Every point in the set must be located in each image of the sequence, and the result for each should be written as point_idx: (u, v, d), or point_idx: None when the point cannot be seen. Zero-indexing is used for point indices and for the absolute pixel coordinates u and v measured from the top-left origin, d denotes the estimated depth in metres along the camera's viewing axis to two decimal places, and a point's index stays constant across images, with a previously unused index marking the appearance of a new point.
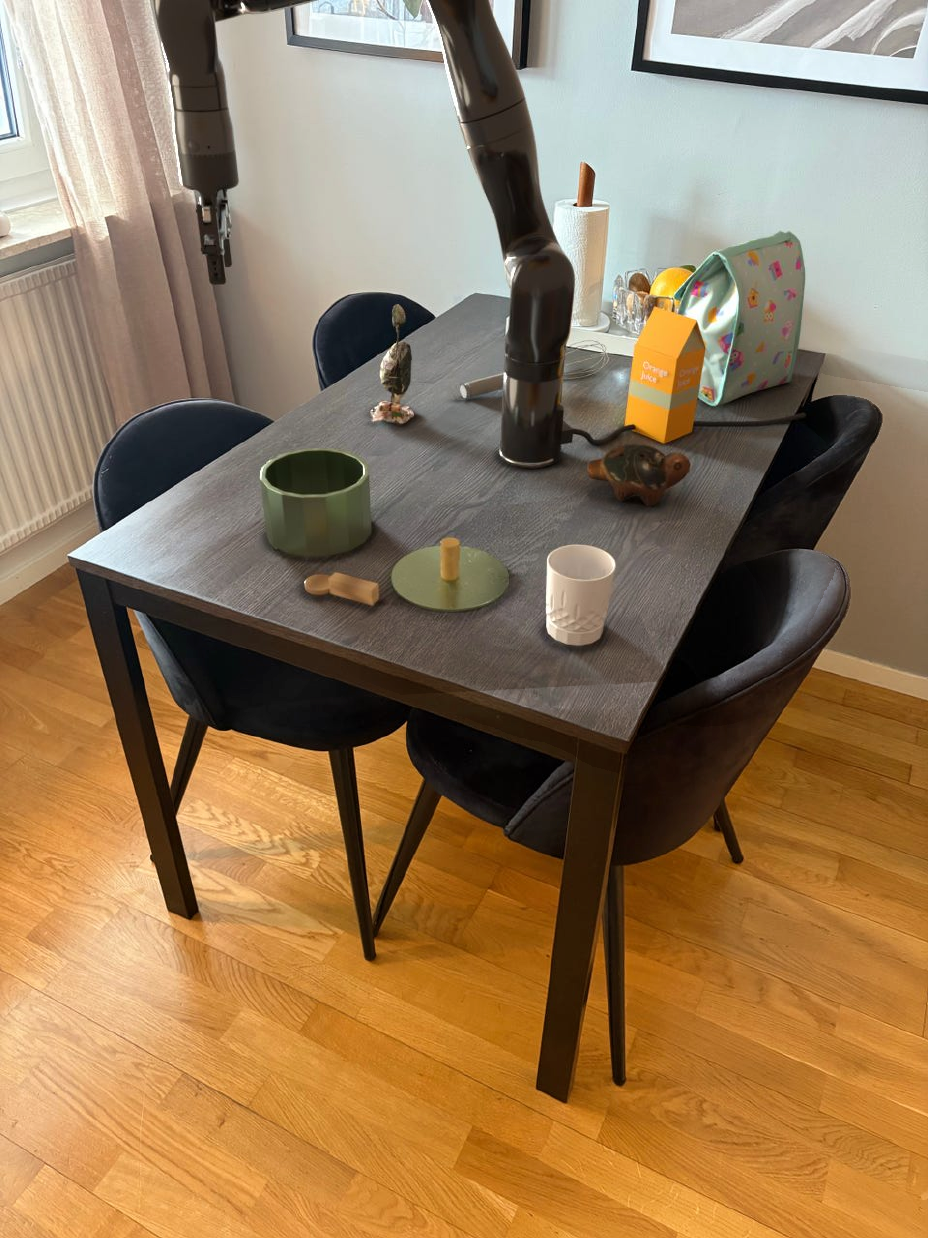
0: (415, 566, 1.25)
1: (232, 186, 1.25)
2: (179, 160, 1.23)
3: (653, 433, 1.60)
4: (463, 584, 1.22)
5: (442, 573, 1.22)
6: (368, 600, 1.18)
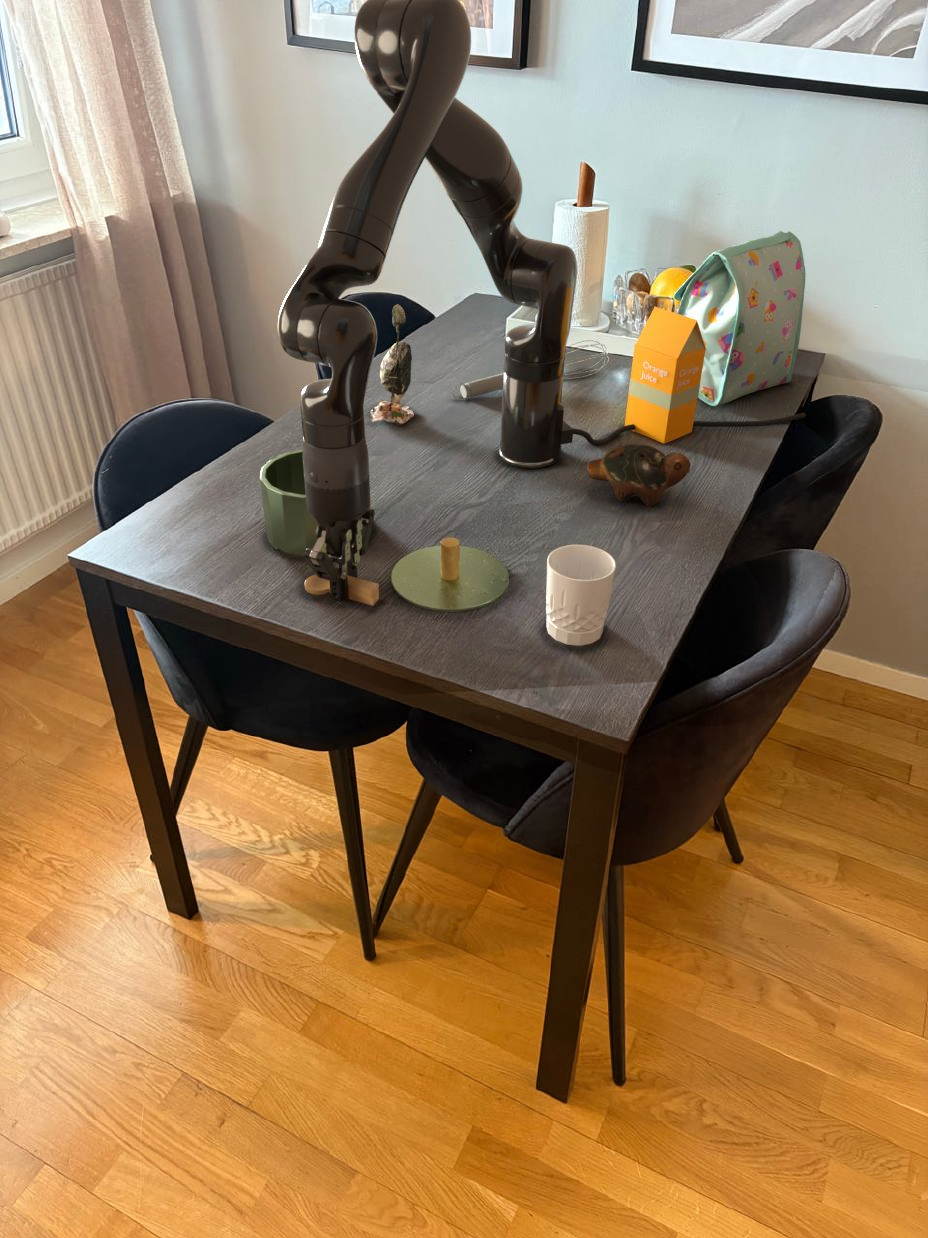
0: (415, 566, 1.25)
1: (353, 518, 1.11)
2: None
3: (653, 433, 1.60)
4: (463, 584, 1.22)
5: (442, 573, 1.22)
6: (368, 600, 1.18)
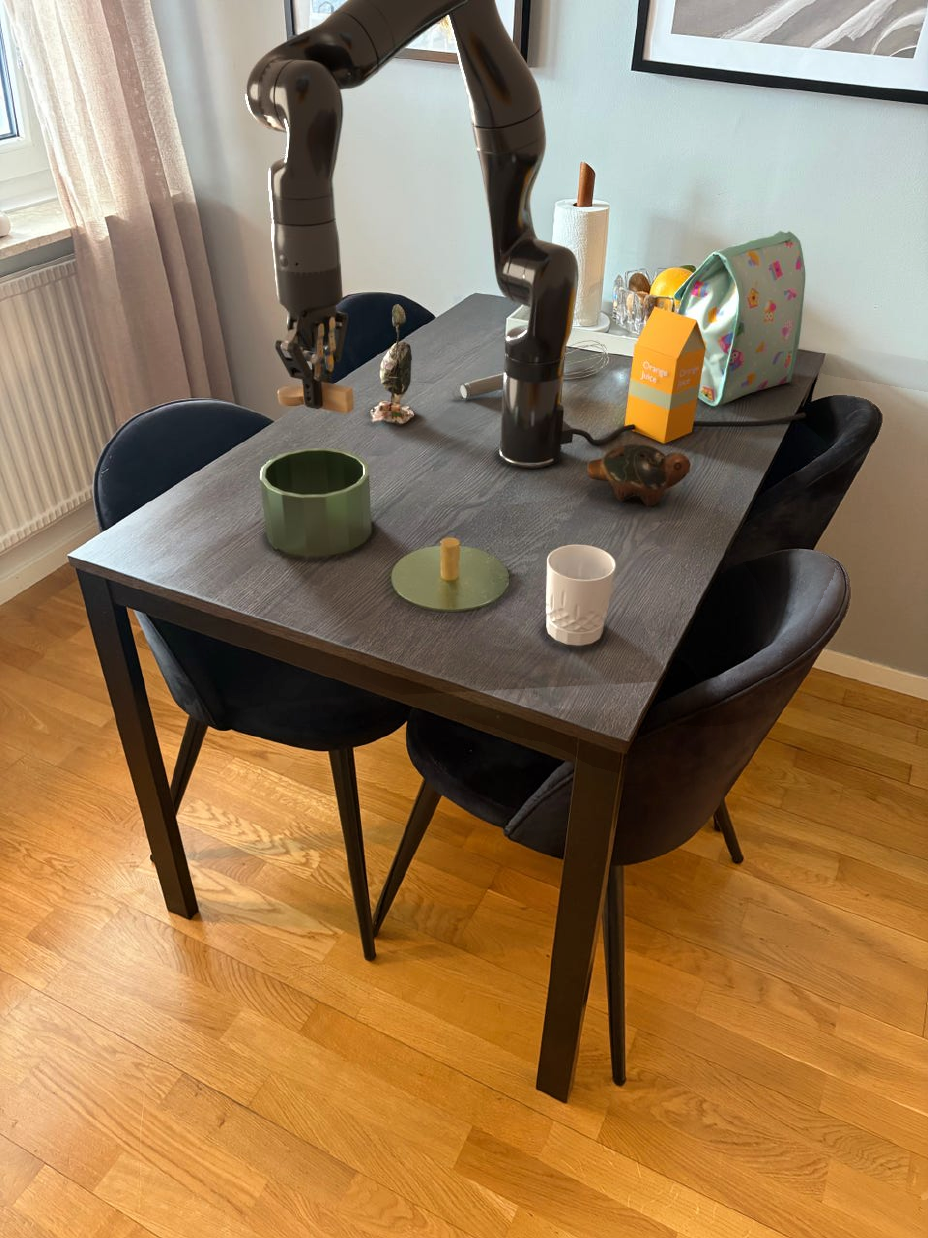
0: (415, 566, 1.25)
1: (325, 307, 1.09)
2: None
3: (653, 433, 1.60)
4: (463, 584, 1.22)
5: (442, 573, 1.22)
6: (342, 404, 1.16)
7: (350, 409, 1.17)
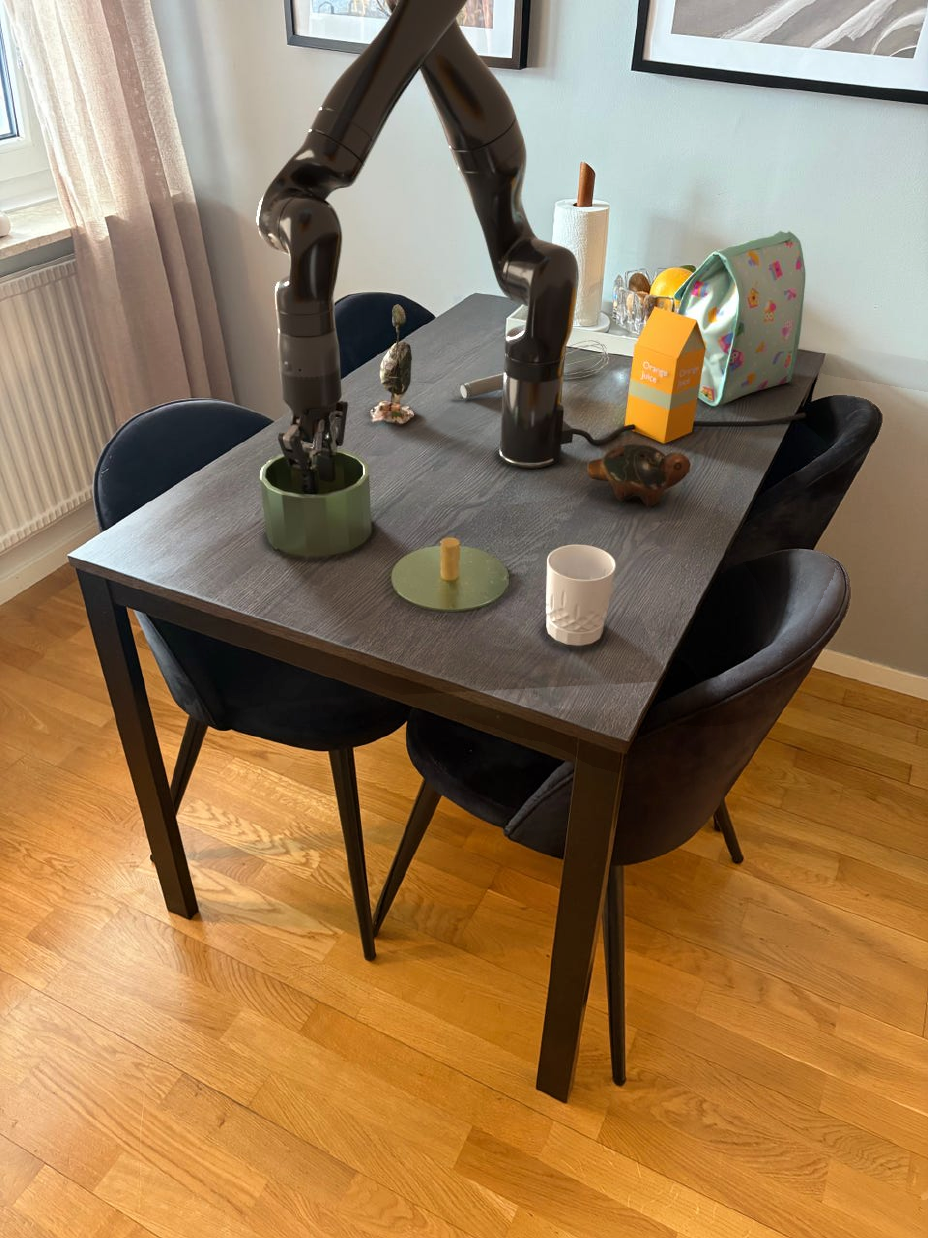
0: (415, 566, 1.25)
1: (325, 406, 1.19)
2: (280, 374, 1.20)
3: (653, 433, 1.60)
4: (463, 584, 1.22)
5: (442, 573, 1.22)
6: None
7: None
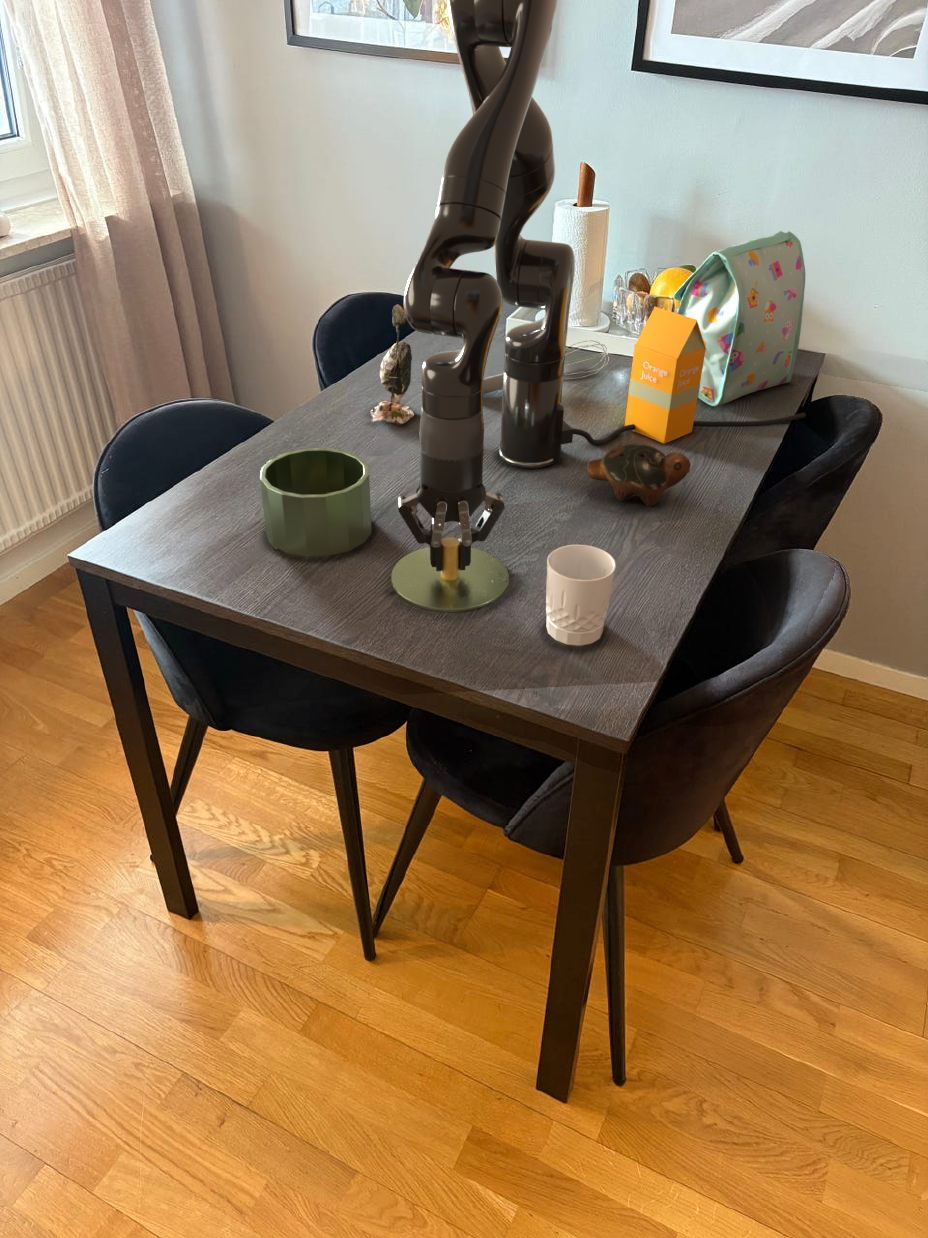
0: (415, 566, 1.25)
1: (437, 489, 1.13)
2: None
3: (653, 433, 1.60)
4: (463, 584, 1.22)
5: (442, 573, 1.22)
6: None
7: None
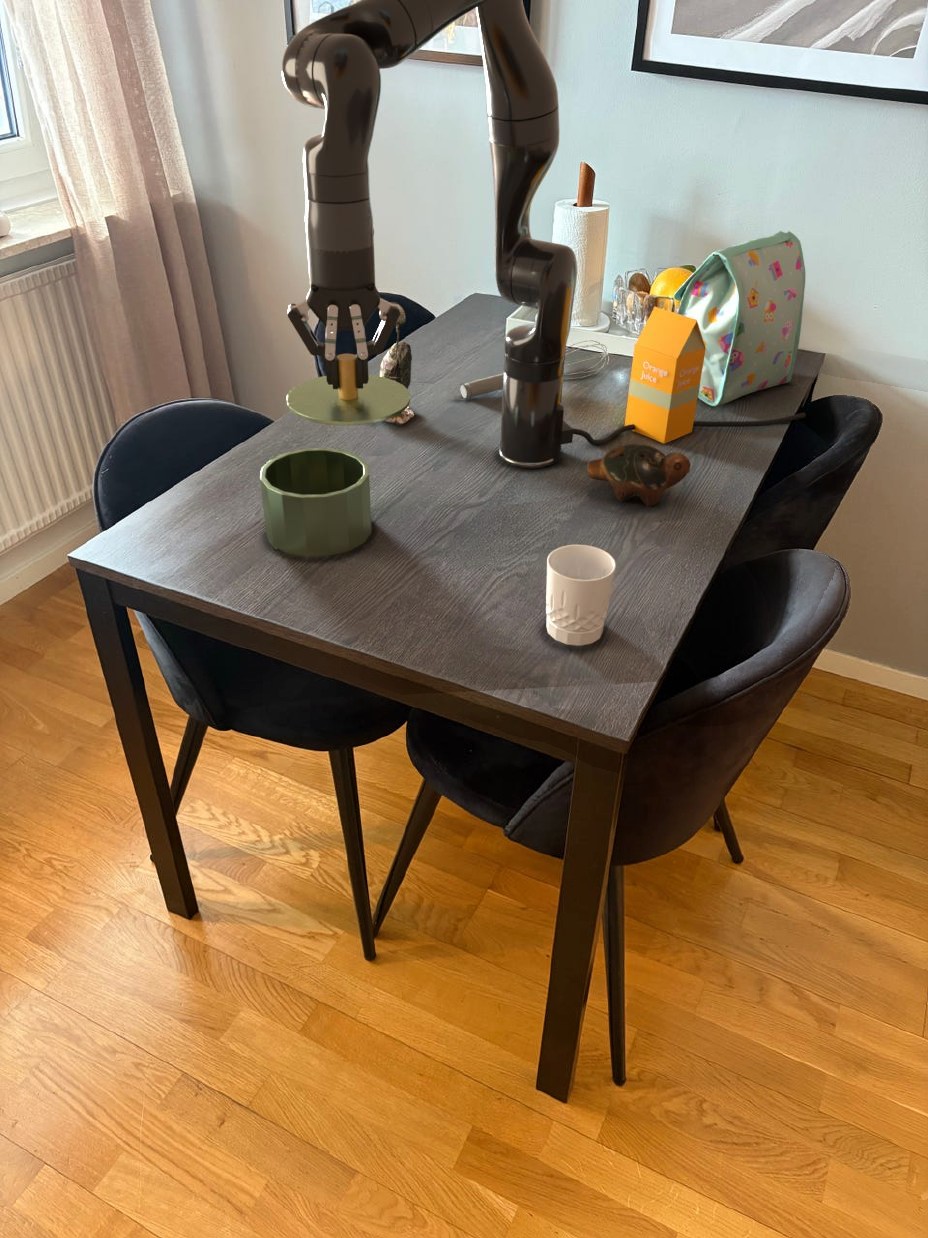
0: (313, 389, 1.20)
1: (325, 287, 1.07)
2: None
3: (653, 433, 1.60)
4: (361, 402, 1.17)
5: (340, 392, 1.17)
6: None
7: None
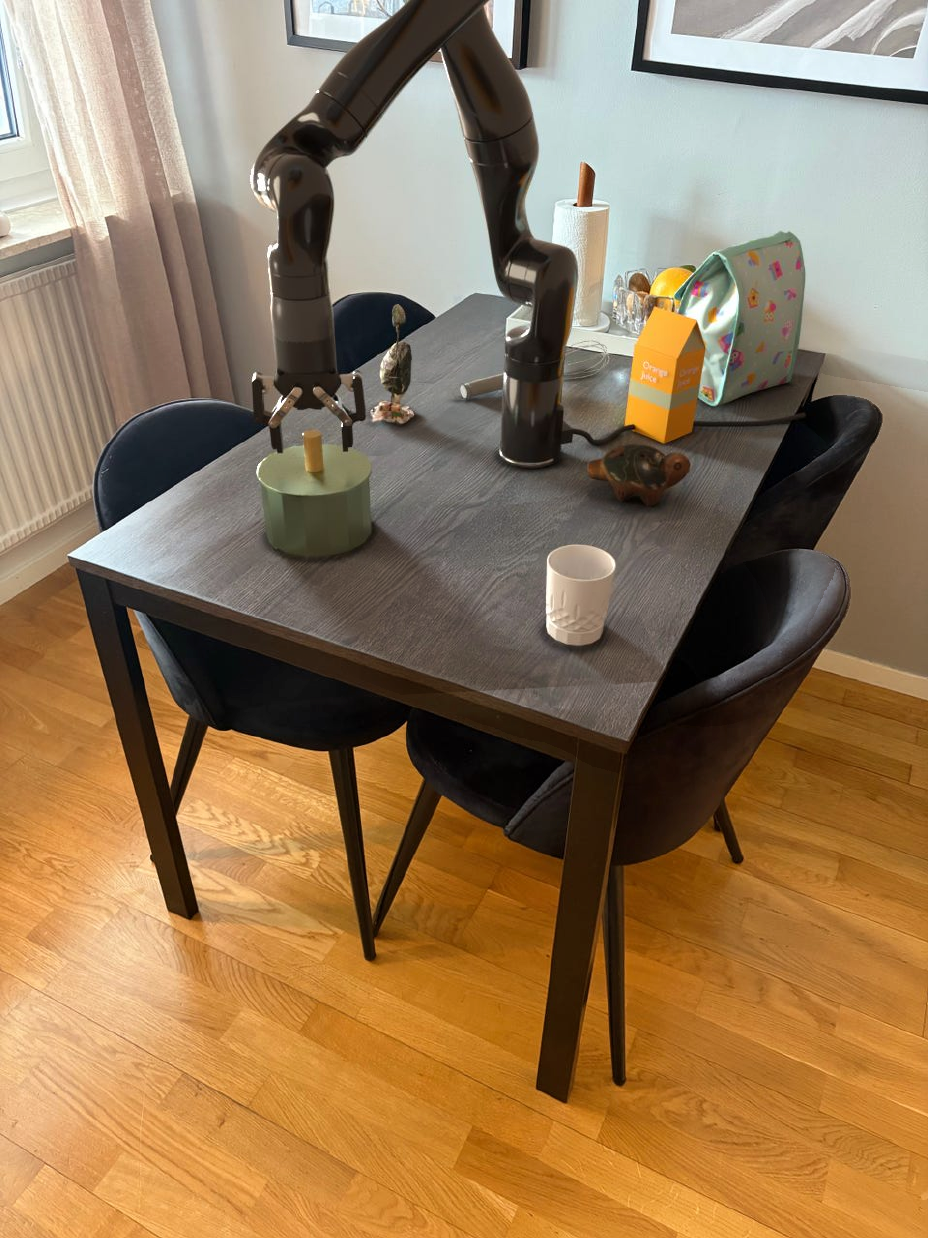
0: (283, 460, 1.30)
1: (289, 373, 1.17)
2: None
3: (653, 433, 1.60)
4: (326, 475, 1.26)
5: (306, 465, 1.27)
6: None
7: None
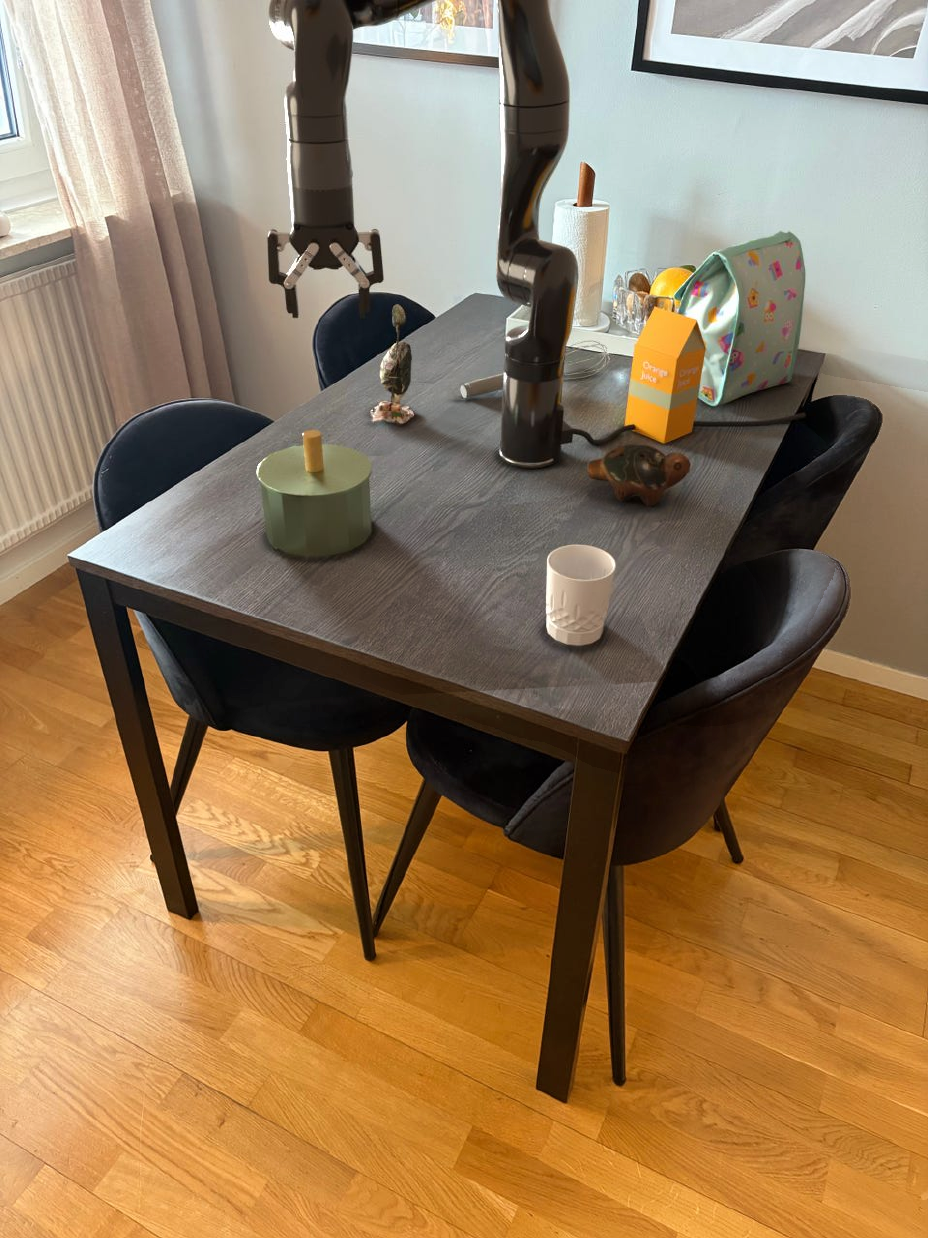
0: (283, 460, 1.30)
1: (305, 225, 1.14)
2: None
3: (653, 433, 1.60)
4: (326, 475, 1.26)
5: (306, 465, 1.27)
6: None
7: None
